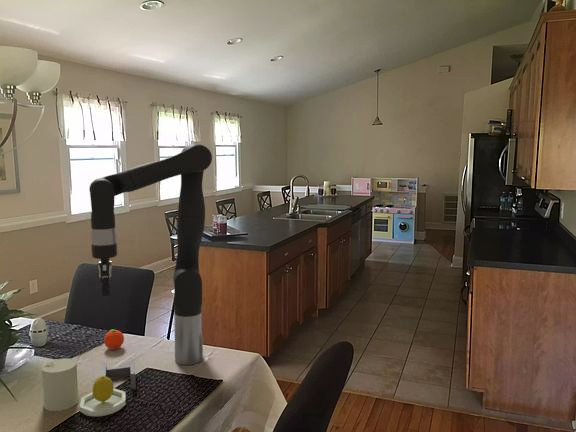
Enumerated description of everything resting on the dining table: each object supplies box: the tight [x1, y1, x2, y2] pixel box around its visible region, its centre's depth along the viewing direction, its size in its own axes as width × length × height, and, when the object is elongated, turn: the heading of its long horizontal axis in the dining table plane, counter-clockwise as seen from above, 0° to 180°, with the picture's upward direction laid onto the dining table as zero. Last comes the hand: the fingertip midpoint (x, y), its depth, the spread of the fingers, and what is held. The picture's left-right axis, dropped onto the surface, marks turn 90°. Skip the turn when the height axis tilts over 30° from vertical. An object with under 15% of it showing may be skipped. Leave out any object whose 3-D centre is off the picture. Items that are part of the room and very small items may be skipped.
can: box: [41, 357, 80, 412], centre depth 135 cm, size 9×9×12 cm
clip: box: [99, 358, 137, 390], centre depth 147 cm, size 10×11×5 cm
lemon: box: [92, 375, 114, 402], centre depth 134 cm, size 6×6×8 cm
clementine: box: [103, 329, 125, 350], centre depth 173 cm, size 8×7×7 cm
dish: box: [79, 387, 126, 418], centre depth 135 cm, size 12×12×2 cm
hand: (106, 291), depth 150 cm, fingers open, 8 cm apart
